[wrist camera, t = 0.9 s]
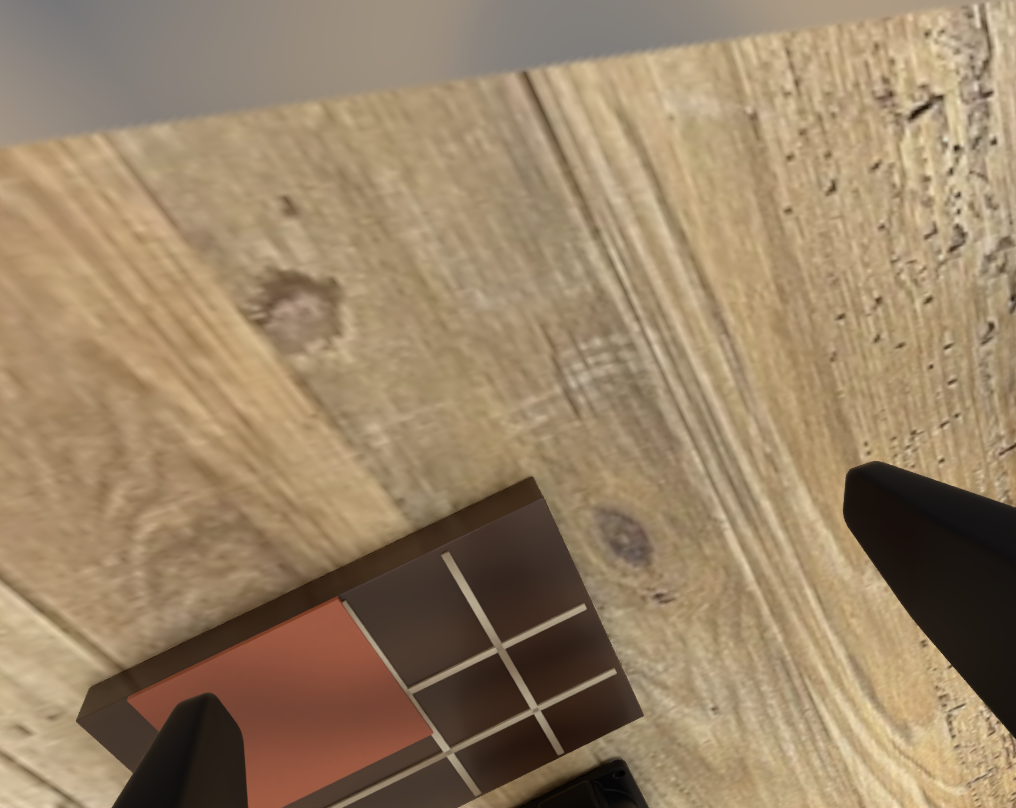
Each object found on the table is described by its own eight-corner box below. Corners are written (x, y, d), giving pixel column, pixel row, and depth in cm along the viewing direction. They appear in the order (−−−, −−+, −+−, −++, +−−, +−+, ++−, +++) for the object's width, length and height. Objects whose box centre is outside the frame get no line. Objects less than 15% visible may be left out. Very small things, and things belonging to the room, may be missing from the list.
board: (631, 689, 32) (646, 719, 30) (274, 864, 31) (271, 904, 30) (532, 475, 26) (544, 500, 24) (88, 687, 25) (72, 726, 24)
